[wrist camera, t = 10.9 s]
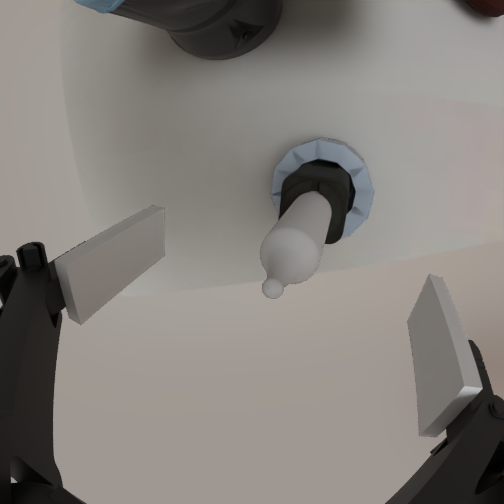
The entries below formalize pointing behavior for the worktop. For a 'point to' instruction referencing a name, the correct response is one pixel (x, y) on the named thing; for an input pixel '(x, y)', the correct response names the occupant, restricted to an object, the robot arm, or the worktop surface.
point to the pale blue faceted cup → (333, 153)
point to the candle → (304, 224)
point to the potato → (488, 7)
